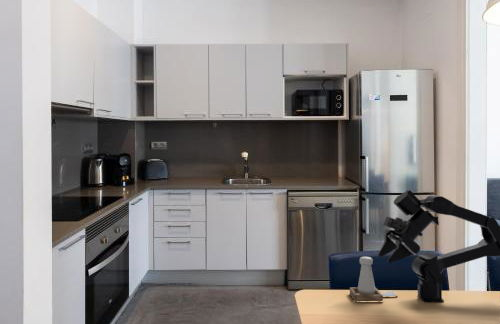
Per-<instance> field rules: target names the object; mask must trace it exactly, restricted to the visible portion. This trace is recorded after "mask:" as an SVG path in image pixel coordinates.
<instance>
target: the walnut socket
mask: <svg viewBox="0 0 500 324" xmlns="http://www.w3.org/2000/svg"><path fill="white" fill-rule="evenodd" d="M375 289H376V290H375V293H374V295H360V294H359V291H358V287H349V295H350V294H351V295H350V297H351V296H352V297H353V299H354V300H353V299H352V300H353V301H355V302H354V303H358V302H357V301H383V299H384V298H383V295H382V294H381V293H380V292H381V291H380V290H379V289H378V288H377V287H375ZM352 297H351V298H352ZM383 302H384V301H383Z"/></svg>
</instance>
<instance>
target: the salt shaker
mask: <svg viewBox="0 0 500 324" xmlns="http://www.w3.org/2000/svg"><path fill="white" fill-rule="evenodd" d="M373 261H374V259H373V258H372V257H370V256H361V257H360V258H359V264H360V265H361V266H360V271H359V273H360V274H359V278H358V283H357V284H358V285H357V288H358V291H359V294H360V295H374V293H375V290H376V289H375V288H376V286H375V280H374V274H373V269H372V265H373Z"/></svg>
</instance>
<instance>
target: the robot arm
mask: <svg viewBox="0 0 500 324" xmlns="http://www.w3.org/2000/svg"><path fill="white" fill-rule="evenodd" d="M393 205H394V206H396V207H397V209H399V210H400V211H401V212H402V213H403V214H404V215H405V216H410V217H409V219H408V220H404V219H403V218H400V217H397V216H396V217H395V218H393V217H390V216H386V217H385V219H384V221H383V226H384V227H388V228H386V229H385V230H384V231H383V237H384V239H383V240H384V242H383V244H382V246H381V248H380V250H379V252H378V254H377V256H378V257H379V258H383V257H384V256H386V255H387V254H389V253H391V252H392V253H391V254H390V255H389V257H388V258H387V260H386V261H387V262H388V263H389V264H392V263H394V262H397V261H399V260H402V259H404V258H408V257H411V256H414V255H415V256H417V257H414V258H413V260H412V263H411V269H412V271H413V272H414V273H416V276H417V278H418V284H417V297H418V298H419V299H420V300H421V301H423V302H424V303H425V302H426V303H427V302H431V303H432V302H435V303H436V302H439V303H441V302H442V303H444V302H445V300H444V299H443V295H442V293H443V292H442V291H443V289H442V288H443V287H442V285H443V284H444V281H445V276H444V275H443V274H442V273H443V272H444V270H446V269H448V268H451V267H454V266H458V265H462V264H465V263H467V262H468V263H469V262H471V261H475V260H478V259H481V258H485V257H500V225H499V222H498V221H497V219H496V217H493V216H489V215H485V214H482V213H480V212H478V211H477V212H476V211H474V210H472V209H467V208H465V207H462V206H459V205H457V204H456V203H454V202H453V201H451V200H450V199H448V198H446V197H444V196H440V195H429V196H426V198H423V199H419V198H418V197H417V196H416V195H415V194H414V193H413V192H412V191H411V190H410V189H407V190H406V191H404V192H402V193H401V194H399V195H397V196H396V197H395V198H394V200H393ZM424 209H425V210H424ZM432 213H433V214H438V215H445V216H452V217H455V218H457V219H459V220H460V219H461V220H464V221H466V222H469V223H472V224H475V225H478V226H479V228H480V229H481V230H480V231H481V237H482V239H480V240H479V242H478V243H476V244H474V245H473V244H472V245H470V246H467V247H463V248H460V249H456V250H453V251H450V252H447V253H443V254H440V255H436V254H435V253H432V252H430V251H428V252H426V253H423V254H419V253H420V252H421V245H419V244H418V243H417V242H416V241H415V240H416V239H417V238H418V237H422V236H423V231H425V229H427V227H429V226H430V224H433V225H436V226H439V224H440V222H439V216H437V215H433V214H432Z"/></svg>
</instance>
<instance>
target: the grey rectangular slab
mask: <svg viewBox="0 0 500 324" xmlns="http://www.w3.org/2000/svg"><path fill="white" fill-rule="evenodd" d="M386 292H387V293H383V294H382V295H383V296H397V297H398V295H397V294H396V293H395V292H394V291H392V292H389V291H386Z"/></svg>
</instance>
